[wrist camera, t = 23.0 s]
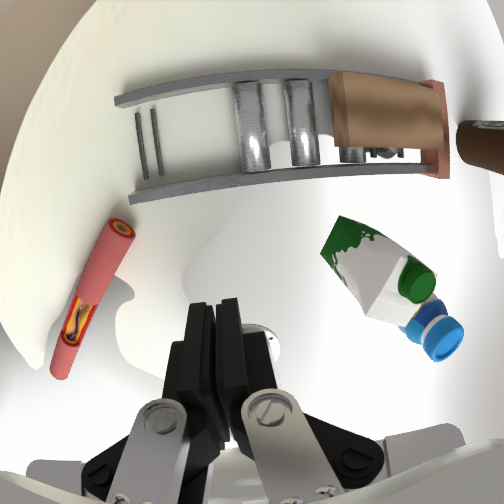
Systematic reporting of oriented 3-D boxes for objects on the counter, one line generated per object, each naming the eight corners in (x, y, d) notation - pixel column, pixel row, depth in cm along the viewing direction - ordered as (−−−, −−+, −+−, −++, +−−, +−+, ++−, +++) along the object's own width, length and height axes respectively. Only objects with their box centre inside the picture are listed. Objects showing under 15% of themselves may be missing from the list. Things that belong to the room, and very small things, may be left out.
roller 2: (313, 162, 39) (325, 164, 35) (288, 164, 39) (297, 166, 35) (305, 86, 34) (316, 80, 31) (279, 86, 34) (288, 80, 30)
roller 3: (353, 160, 40) (371, 162, 36) (334, 161, 39) (352, 163, 35) (346, 87, 35) (364, 84, 32) (327, 85, 34) (344, 81, 30)
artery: (70, 370, 51) (63, 384, 46) (54, 358, 49) (46, 372, 44) (139, 231, 41) (130, 242, 36) (115, 214, 39) (102, 223, 35)
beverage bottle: (363, 296, 49) (418, 365, 31) (385, 257, 47) (453, 317, 28) (391, 306, 51) (445, 368, 33) (412, 271, 49) (475, 326, 30)
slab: (427, 148, 37) (443, 150, 33) (334, 146, 34) (350, 147, 30) (422, 92, 33) (439, 91, 30) (327, 76, 30) (342, 70, 27)
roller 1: (267, 166, 39) (274, 168, 35) (240, 170, 38) (243, 172, 35) (258, 87, 34) (264, 81, 30) (230, 89, 34) (233, 83, 30)
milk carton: (376, 228, 44) (452, 280, 26) (352, 272, 47) (412, 342, 28) (336, 207, 42) (410, 256, 24) (312, 257, 45) (365, 331, 26)
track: (432, 173, 41) (449, 178, 37) (137, 204, 39) (126, 212, 34) (426, 85, 35) (443, 82, 30) (121, 96, 32) (109, 91, 27)
